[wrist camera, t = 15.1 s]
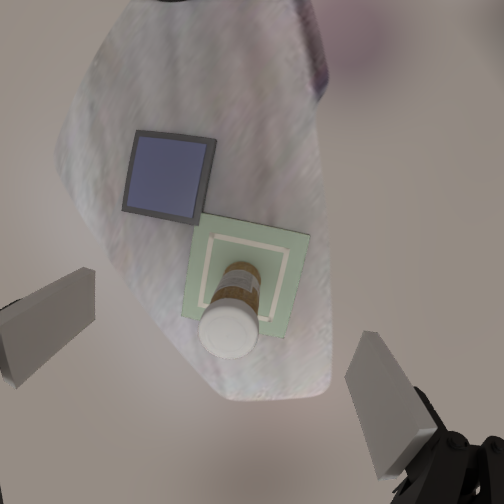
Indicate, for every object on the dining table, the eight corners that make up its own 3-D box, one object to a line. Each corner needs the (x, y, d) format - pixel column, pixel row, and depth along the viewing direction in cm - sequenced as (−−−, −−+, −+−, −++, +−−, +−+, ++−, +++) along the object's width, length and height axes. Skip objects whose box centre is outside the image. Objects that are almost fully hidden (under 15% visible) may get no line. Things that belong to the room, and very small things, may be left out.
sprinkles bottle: (255, 301, 34) (250, 367, 21) (218, 292, 34) (191, 352, 21) (265, 265, 33) (265, 316, 20) (226, 255, 33) (202, 300, 20)
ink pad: (139, 131, 32) (135, 129, 30) (216, 140, 32) (215, 138, 30) (125, 210, 34) (120, 211, 32) (200, 225, 34) (197, 226, 32)
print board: (198, 211, 33) (196, 212, 32) (309, 234, 33) (310, 236, 32) (182, 313, 36) (180, 316, 35) (283, 335, 36) (283, 339, 35)
